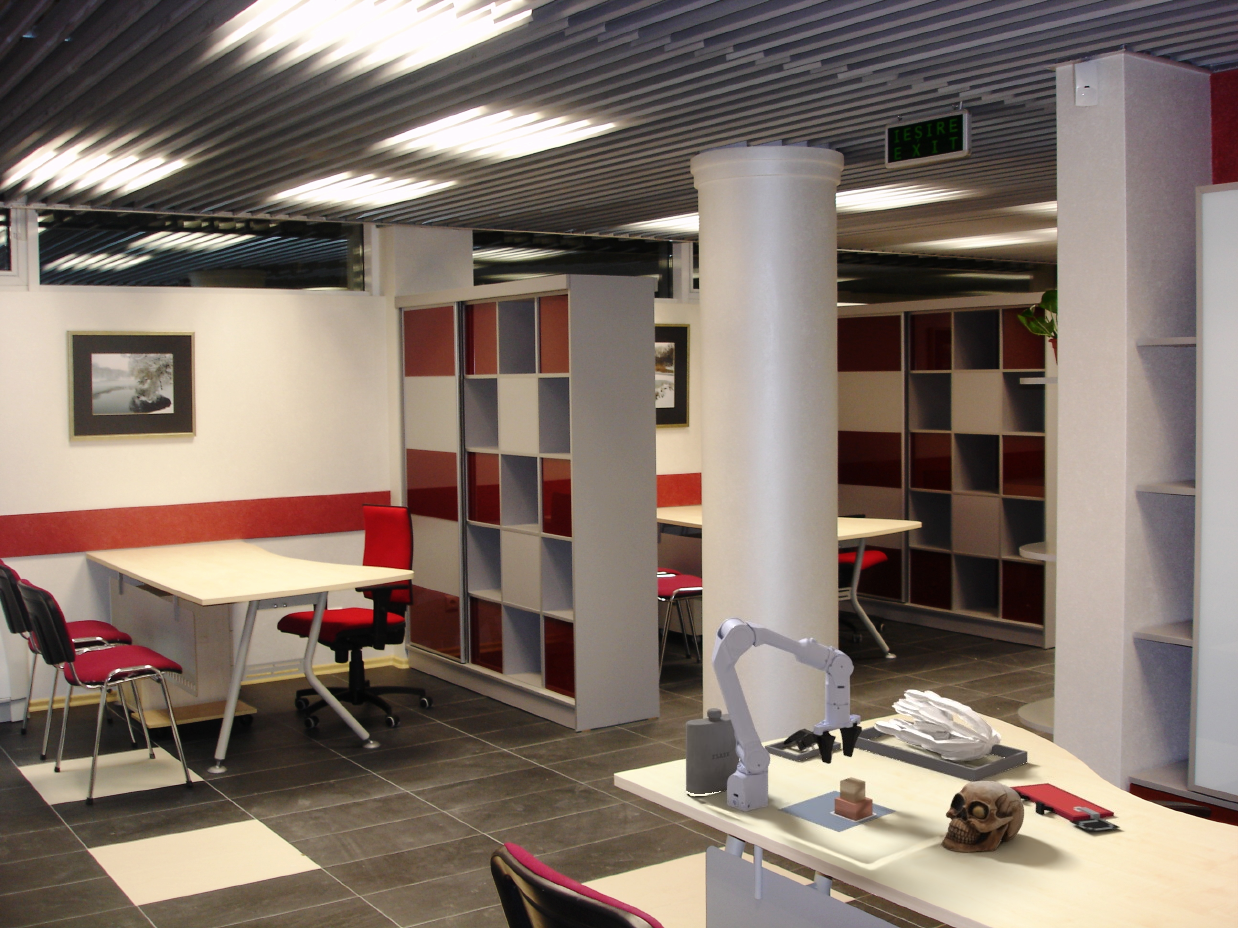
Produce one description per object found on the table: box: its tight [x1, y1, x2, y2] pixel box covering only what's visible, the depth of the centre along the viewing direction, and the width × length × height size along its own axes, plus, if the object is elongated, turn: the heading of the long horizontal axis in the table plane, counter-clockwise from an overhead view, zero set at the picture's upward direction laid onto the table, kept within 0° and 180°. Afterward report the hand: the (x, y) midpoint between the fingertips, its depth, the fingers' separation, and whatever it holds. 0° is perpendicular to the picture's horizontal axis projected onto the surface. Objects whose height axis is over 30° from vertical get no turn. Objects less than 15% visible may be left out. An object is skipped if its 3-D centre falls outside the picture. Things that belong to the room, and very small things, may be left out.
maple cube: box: [839, 776, 866, 803], centre depth 264 cm, size 4×4×4 cm
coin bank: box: [941, 780, 1025, 853], centre depth 251 cm, size 16×17×13 cm
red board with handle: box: [1009, 782, 1121, 832], centre depth 270 cm, size 30×3×15 cm
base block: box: [835, 796, 874, 821], centre depth 265 cm, size 6×6×4 cm
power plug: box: [783, 728, 817, 752], centre depth 315 cm, size 6×8×12 cm
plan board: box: [777, 790, 896, 833], centre depth 267 cm, size 20×18×1 cm
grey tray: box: [854, 719, 1028, 782], centre depth 312 cm, size 24×41×3 cm, turn 39°
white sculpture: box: [874, 689, 1002, 763], centre depth 313 cm, size 17×18×35 cm
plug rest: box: [764, 739, 842, 762], centre depth 316 cm, size 18×12×2 cm, turn 129°
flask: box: [685, 707, 740, 794], centre depth 283 cm, size 15×6×20 cm, turn 122°
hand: (837, 759), depth 274 cm, fingers open, 7 cm apart
